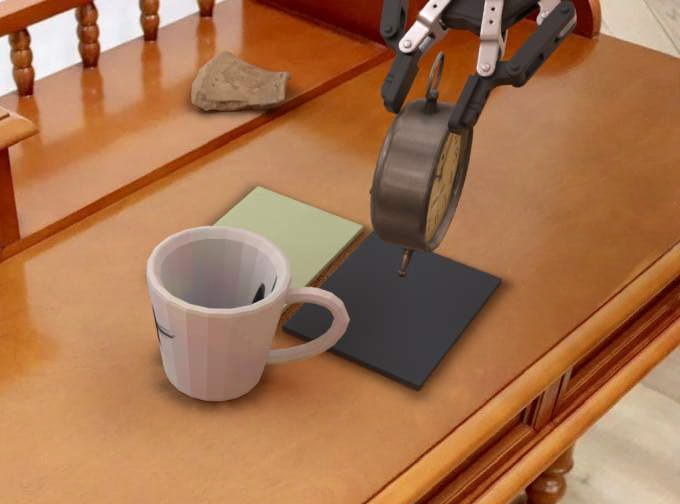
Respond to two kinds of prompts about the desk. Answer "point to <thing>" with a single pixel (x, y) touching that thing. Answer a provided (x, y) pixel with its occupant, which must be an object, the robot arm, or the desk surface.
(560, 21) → the robot arm
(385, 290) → the slate mat
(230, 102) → the pottery shard
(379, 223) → the alarm clock
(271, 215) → the sage mat
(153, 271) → the mug
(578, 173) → the desk surface
